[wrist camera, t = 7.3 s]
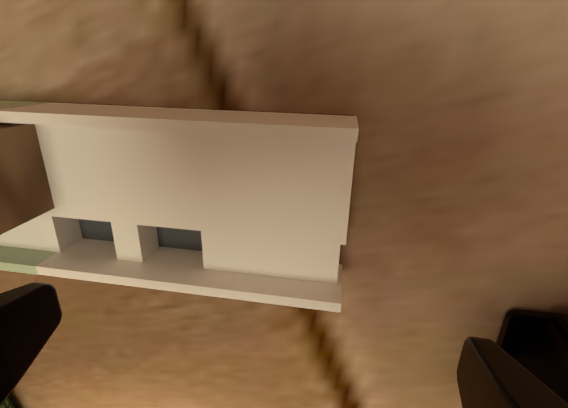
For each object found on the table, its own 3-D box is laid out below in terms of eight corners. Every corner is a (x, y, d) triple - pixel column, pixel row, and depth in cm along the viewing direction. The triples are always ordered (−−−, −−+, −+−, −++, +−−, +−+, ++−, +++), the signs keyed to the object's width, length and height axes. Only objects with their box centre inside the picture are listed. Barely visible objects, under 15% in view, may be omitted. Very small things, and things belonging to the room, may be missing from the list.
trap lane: (341, 272, 20) (340, 313, 16) (-1, 234, 23) (-59, 262, 20) (356, 115, 16) (358, 128, 13) (-44, 98, 20) (-121, 104, 16)
